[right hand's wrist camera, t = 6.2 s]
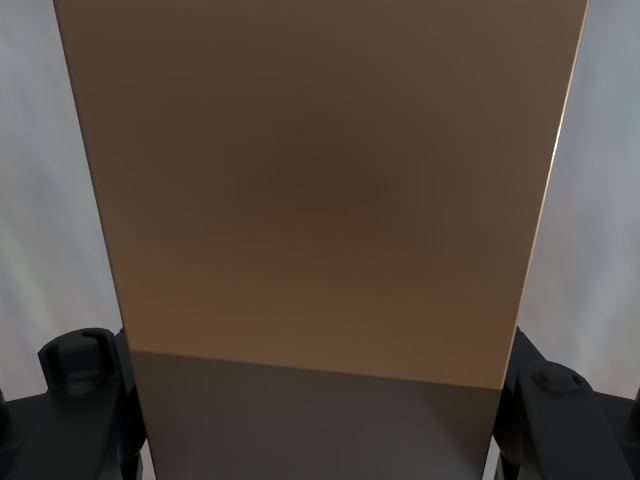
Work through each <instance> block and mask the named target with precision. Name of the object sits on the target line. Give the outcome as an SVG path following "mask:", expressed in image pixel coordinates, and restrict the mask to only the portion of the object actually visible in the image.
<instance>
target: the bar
mask: <svg viewBox="0 0 640 480" xmlns="http://www.w3.org/2000/svg"><path fill="white" fill-rule="evenodd" d="M53 4H54V8H55V13H56V18H57V22H58V27H59V32H60V36H61V41H62V45H63V50H64V55H65V59H66V64H67V69H68V73H69V78H70V83H71V87H72V92H73V96H74V101H75V106H76V110H77V115H78V120H79V124H80V129H81V134H82V138H83V143H84V147H85V152H86V157H87V161H88V166H89V171H90V175H91V180H92V185H93V189H94V194H95V199H96V203H97V208H98V212H99V217H100V222H101V226H102V231H103V236H104V240H105V245H106V250H107V254H108V259H109V263H110V268H111V273H112V277H113V282H114V287H115V291H116V296H117V301H118V305H119V310H120V314H121V319H122V324H123V328H124V333H125V338H126V342H127V347H128V352H129V356H130V361H131V365H132V370H133V375H134V379H135V384H136V389H137V393H138V398H139V403H140V407H141V412H142V416H143V421H144V426H145V430H146V435H147V440H148V444H149V449H150V454H151V458H152V463H153V468H154V472H155V477H156V480H482V477H483V473H484V468H485V464H486V460H487V455H488V451H489V446H490V442H491V437H492V433H493V429H494V424H495V420H496V415H497V411H498V407H499V402H500V398H501V393H502V389H503V385H504V380H505V376H506V371H507V367H508V362H509V358H510V354H511V349H512V345H513V340H514V336H515V332H516V327H517V323H518V318H519V314H520V309H521V305H522V301H523V296H524V292H525V287H526V283H527V279H528V274H529V270H530V265H531V261H532V257H533V252H534V248H535V243H536V239H537V234H538V230H539V226H540V221H541V217H542V212H543V208H544V204H545V199H546V195H547V190H548V186H549V181H550V177H551V173H552V168H553V164H554V159H555V155H556V151H557V146H558V142H559V137H560V133H561V128H562V124H563V120H564V115H565V111H566V106H567V102H568V98H569V93H570V89H571V84H572V80H573V76H574V71H575V67H576V62H577V58H578V53H579V49H580V45H581V40H582V36H583V31H584V27H585V23H586V18H587V14H588V9H589V5H590V0H53Z"/></svg>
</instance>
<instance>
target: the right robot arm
mask: <svg viewBox="0 0 640 480" xmlns="http://www.w3.org/2000/svg"><path fill="white" fill-rule="evenodd" d="M37 354H38V357H39V360H40V363H41V367H42V370H43V373H44V376H45V379H46V383H47V386H48V390H47V392H46V393H44V394H40V395H35V396H31V397H26V398H21V399H17V400H12V401H7V402H5V399H4V397H3V394H2V391H1V390H0V480H142V472H143V464H142V458H141V453H140V450H141V448H142V446H143V444H144V442H145V440H146V438H147V435H146V430H145V426H144V421H143V416H142V412H141V407H140V403H139V398H138V393H137V389H136V384H135V379H134V375H133V370H132V365H131V361H130V356H129V352H128V347H127V342H126V338H125V333H124V328H123V327H122V328H121V330H120V333H117V335H116V336H115V337H114V334H113V333H112V332H111V331H109V330H108V329H103V328H84V329H80V330H76V331H72V332H69V333H66V334H64V335H61V336H59V337H57V338H55V339H53V340H52V341H50V342H49V343H47V344H46V345H44V347H43V348H42V349H41V350H40V351H39V352H38V353H37ZM492 435H493V437H494V439H495V441H496V443H497V445H498V447H499V449H500V453H499V458H498V462H497V467H496V471H495V476H494V480H640V388H639V390H638V393H637V396H636V398H635V400H632V399H627V398H622V397H618V396H613V395H608V394H603V393H599V392H596V391H593V389H592V387H591V386H590V385H589V383H588V382H587V381H586V379H585V378H583V377H582V376H581V375H579V374H578V373H577V372H575V371H574V370H572V369H570V368H567V367H565V366H563V365H561V364H558V363H554V362H550V361H546V359H545V358H544V357H543V356H542V355H541V353H540V352H539V351H538V350H537V349H536V347H535V346H534V345H533V344H532V343H531V341H530V340H529V339H528V338H527V337H526V335H525V334H524V333H523V332H521V331H520V328H519V327H518V326H517V327H516V332H515V336H514V340H513V345H512V349H511V354H510V358H509V362H508V367H507V371H506V376H505V380H504V385H503V389H502V393H501V398H500V402H499V407H498V411H497V415H496V420H495V424H494V429H493V433H492Z"/></svg>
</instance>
